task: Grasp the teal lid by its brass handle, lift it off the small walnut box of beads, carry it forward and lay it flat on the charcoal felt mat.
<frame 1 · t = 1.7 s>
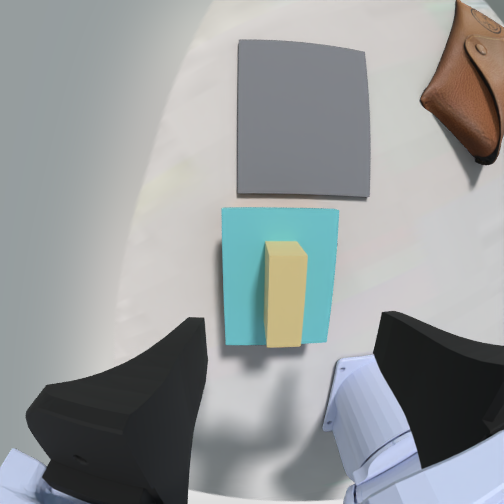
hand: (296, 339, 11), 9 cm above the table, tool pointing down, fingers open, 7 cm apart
mat: (306, 113, 17), on the table
lid: (278, 278, 18), point 2 cm above the table, touching box
sunglasses case: (469, 69, 16), on the table
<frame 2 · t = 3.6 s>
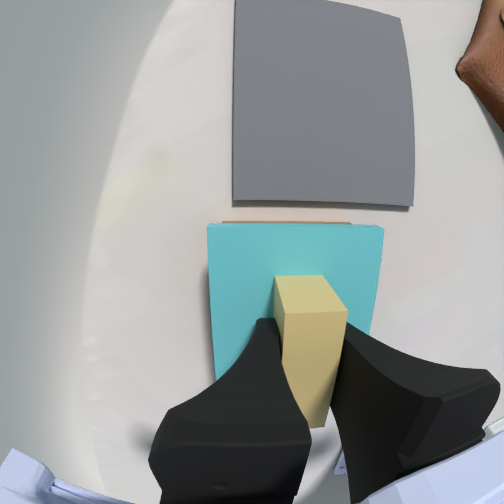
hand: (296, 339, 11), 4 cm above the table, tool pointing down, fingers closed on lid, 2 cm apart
mat: (330, 88, 12), on the table
lid: (292, 324, 12), point 2 cm above the table, touching box, gripper
sunglasses case: (503, 48, 10), on the table
skincare box: (489, 432, 21), on the table
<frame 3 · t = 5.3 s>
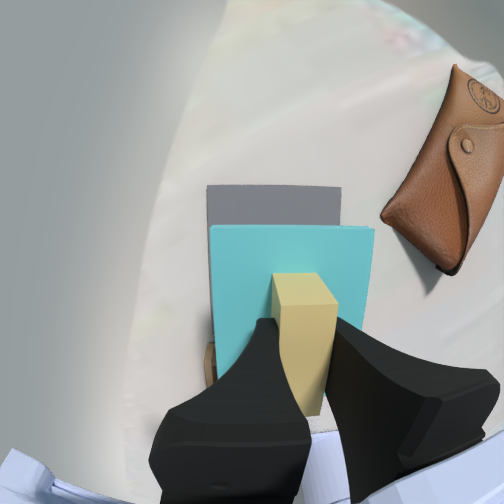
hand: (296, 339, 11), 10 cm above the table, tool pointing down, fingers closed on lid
mat: (273, 264, 20), on the table
lid: (289, 319, 13), point 8 cm above the table, touching gripper
sunglasses case: (452, 159, 19), on the table
box: (246, 381, 23), on the table
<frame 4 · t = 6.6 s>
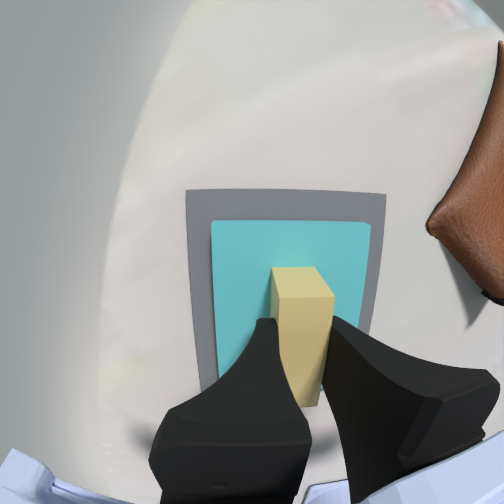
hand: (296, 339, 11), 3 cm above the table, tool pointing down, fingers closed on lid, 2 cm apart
mat: (286, 306, 14), on the table
lid: (287, 312, 13), point 1 cm above the table, touching gripper
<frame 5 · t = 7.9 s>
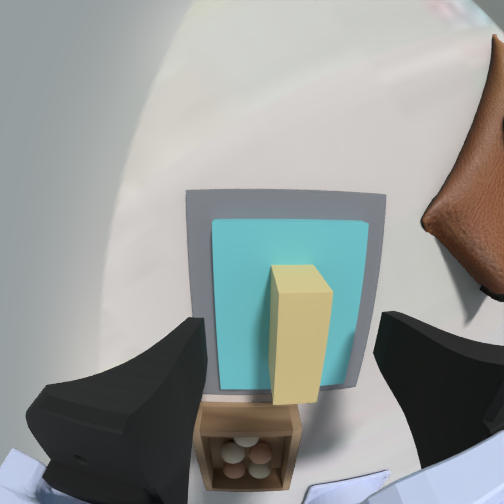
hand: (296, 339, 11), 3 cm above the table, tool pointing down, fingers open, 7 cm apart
mat: (286, 306, 14), on the table
lid: (287, 310, 13), resting on mat
sunglasses case: (500, 148, 12), on the table
box: (246, 440, 16), on the table
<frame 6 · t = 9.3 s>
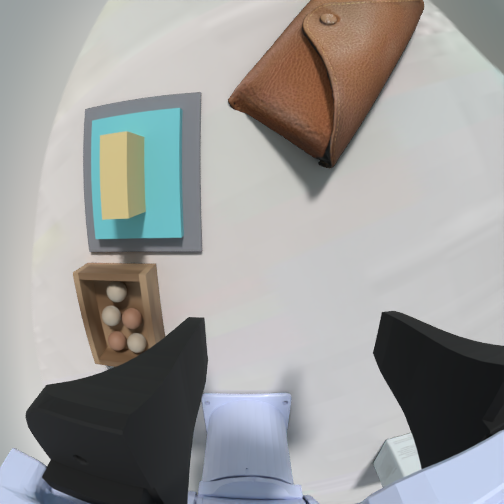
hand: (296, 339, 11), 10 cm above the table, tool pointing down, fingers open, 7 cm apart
mat: (138, 174, 18), on the table
lid: (136, 175, 18), resting on mat
sunglasses case: (333, 50, 17), on the table
skincare box: (397, 445, 28), on the table
box: (127, 311, 21), on the table
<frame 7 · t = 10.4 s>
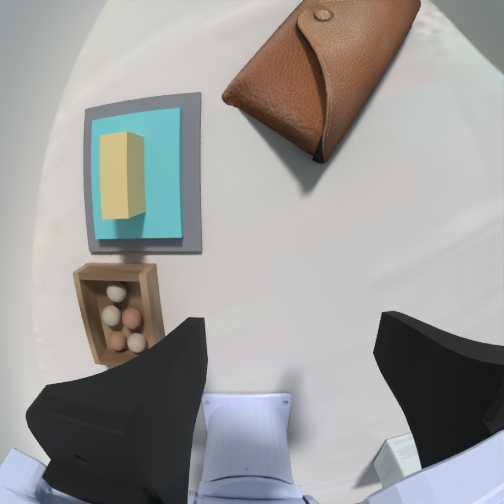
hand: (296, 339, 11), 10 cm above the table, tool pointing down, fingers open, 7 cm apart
mat: (138, 174, 18), on the table
lid: (136, 175, 18), resting on mat
sunglasses case: (328, 46, 17), on the table
skincare box: (397, 445, 28), on the table
box: (127, 311, 21), on the table
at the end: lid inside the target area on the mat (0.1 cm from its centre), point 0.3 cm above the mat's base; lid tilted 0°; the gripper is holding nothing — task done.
